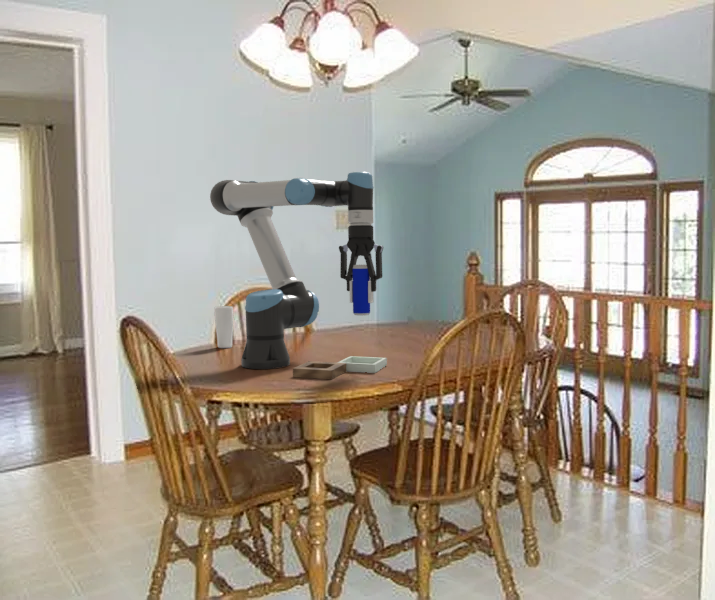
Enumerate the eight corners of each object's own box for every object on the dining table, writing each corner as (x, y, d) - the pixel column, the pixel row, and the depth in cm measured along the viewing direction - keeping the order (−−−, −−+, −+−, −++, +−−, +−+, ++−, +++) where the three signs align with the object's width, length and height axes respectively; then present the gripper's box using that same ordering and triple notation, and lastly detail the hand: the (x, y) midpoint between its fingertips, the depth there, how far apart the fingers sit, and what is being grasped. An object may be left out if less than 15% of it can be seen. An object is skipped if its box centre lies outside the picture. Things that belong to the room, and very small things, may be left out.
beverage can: (373, 314, 210) (373, 264, 208) (359, 316, 207) (359, 265, 205) (363, 313, 214) (363, 264, 213) (349, 314, 211) (349, 265, 210)
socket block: (292, 377, 200) (292, 368, 200) (309, 369, 211) (308, 361, 211) (331, 379, 196) (331, 370, 196) (346, 371, 207) (346, 363, 207)
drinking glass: (214, 346, 259) (213, 306, 257) (232, 345, 261) (231, 305, 259) (216, 349, 252) (215, 308, 251) (235, 348, 254) (234, 307, 253)
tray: (336, 370, 208) (336, 362, 208) (350, 364, 220) (350, 356, 219) (375, 373, 204) (375, 364, 204) (386, 365, 216) (386, 357, 215)
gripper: (327, 225, 207) (329, 302, 210) (386, 224, 202) (387, 304, 204) (336, 225, 215) (337, 300, 217) (393, 224, 209) (394, 301, 211)
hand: (361, 302), depth 210 cm, fingers closed on beverage can, 5 cm apart
